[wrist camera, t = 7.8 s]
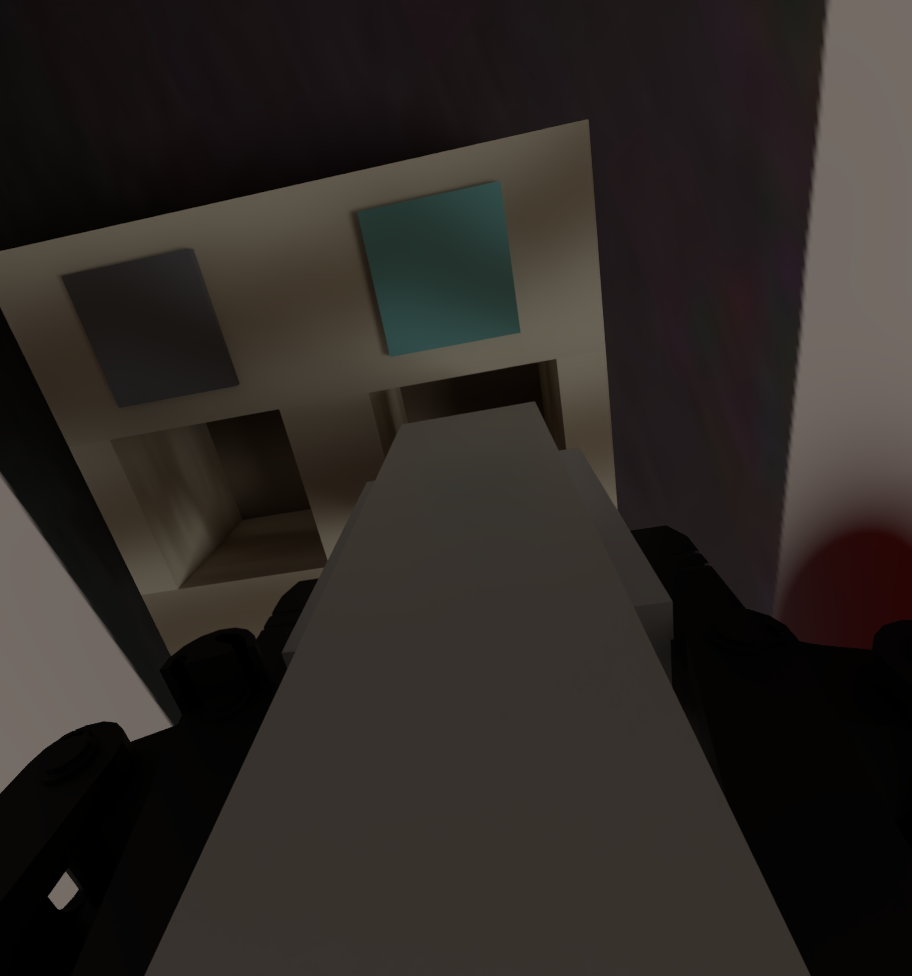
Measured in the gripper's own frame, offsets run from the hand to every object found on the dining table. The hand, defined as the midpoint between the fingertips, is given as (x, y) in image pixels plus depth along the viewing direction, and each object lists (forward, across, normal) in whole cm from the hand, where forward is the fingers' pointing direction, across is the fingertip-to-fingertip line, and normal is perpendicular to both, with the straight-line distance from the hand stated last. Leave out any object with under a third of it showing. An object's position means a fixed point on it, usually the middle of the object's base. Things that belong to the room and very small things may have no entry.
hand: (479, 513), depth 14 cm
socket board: (+11, +5, -1) cm, 12 cm away
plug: (+3, 0, 0) cm, 3 cm away
